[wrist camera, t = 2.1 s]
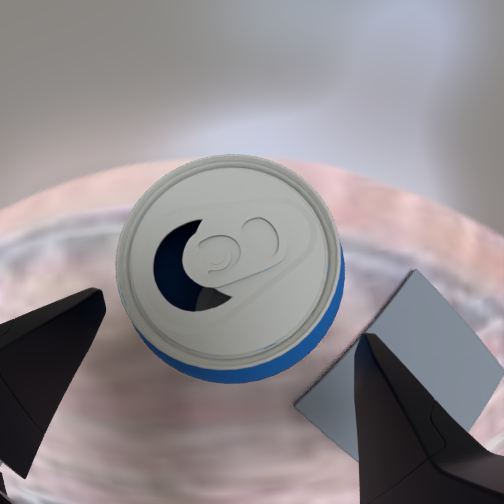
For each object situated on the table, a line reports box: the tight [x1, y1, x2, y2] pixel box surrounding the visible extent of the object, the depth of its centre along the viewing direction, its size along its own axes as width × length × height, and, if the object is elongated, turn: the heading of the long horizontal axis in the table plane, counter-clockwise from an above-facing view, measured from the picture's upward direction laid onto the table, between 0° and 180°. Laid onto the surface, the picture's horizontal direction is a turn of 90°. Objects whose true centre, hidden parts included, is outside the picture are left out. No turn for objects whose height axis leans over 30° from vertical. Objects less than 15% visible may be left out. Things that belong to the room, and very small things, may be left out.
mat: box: [294, 269, 504, 462], centre depth 16 cm, size 12×12×1 cm
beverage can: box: [116, 154, 345, 384], centre depth 13 cm, size 6×6×12 cm
